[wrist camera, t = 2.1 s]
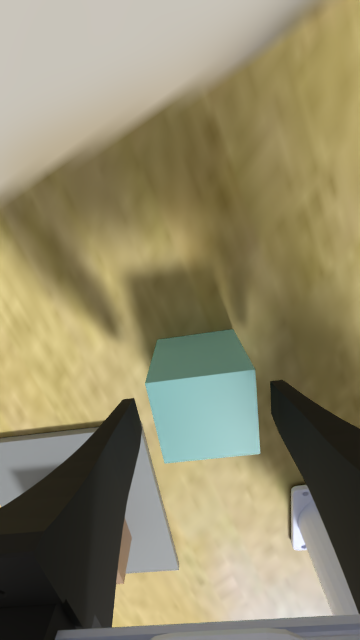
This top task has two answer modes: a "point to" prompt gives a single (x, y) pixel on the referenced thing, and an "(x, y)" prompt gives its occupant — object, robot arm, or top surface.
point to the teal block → (203, 397)
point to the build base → (142, 505)
